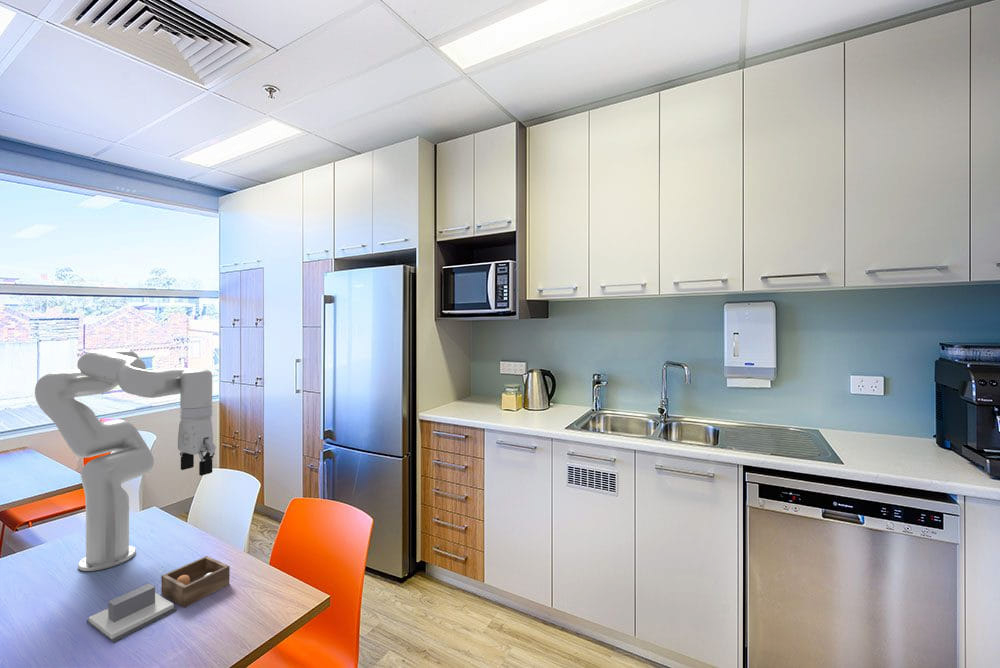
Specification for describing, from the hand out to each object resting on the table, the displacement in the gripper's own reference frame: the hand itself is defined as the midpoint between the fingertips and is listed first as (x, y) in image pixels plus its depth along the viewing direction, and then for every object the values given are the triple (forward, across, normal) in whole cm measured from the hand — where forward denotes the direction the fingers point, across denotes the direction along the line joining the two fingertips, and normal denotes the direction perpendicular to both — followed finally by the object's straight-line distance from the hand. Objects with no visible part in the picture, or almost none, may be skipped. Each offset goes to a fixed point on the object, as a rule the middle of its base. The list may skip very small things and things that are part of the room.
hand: (196, 471), depth 122 cm
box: (+28, +11, -6) cm, 31 cm away
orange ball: (+26, +8, -8) cm, 28 cm away
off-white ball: (+26, +14, -4) cm, 29 cm away
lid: (+28, +9, -18) cm, 35 cm away
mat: (+28, +9, -18) cm, 35 cm away
